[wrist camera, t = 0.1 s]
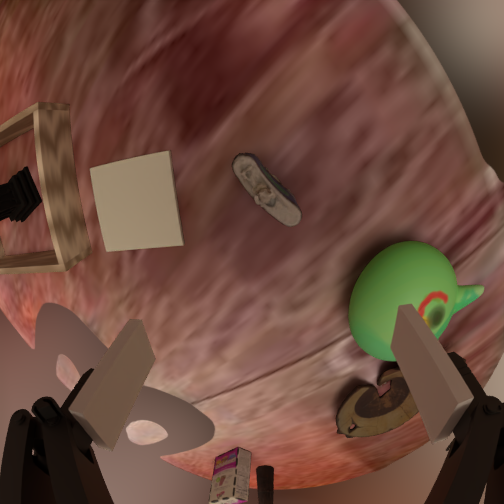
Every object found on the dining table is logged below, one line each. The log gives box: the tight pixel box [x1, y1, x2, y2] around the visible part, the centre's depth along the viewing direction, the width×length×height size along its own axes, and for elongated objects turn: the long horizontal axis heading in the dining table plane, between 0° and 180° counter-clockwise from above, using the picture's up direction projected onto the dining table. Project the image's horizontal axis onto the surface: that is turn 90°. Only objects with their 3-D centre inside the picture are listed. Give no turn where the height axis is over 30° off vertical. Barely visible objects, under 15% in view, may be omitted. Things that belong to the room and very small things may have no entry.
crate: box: [0, 102, 92, 274], centre depth 37 cm, size 26×30×8 cm
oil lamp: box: [336, 358, 466, 438], centre depth 48 cm, size 22×30×8 cm
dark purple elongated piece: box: [232, 153, 302, 227], centre depth 33 cm, size 10×3×12 cm, turn 43°
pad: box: [90, 150, 185, 252], centre depth 40 cm, size 14×14×1 cm
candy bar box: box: [209, 447, 251, 504], centre depth 56 cm, size 11×5×16 cm, turn 141°
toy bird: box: [348, 241, 484, 361], centre depth 35 cm, size 18×17×15 cm
